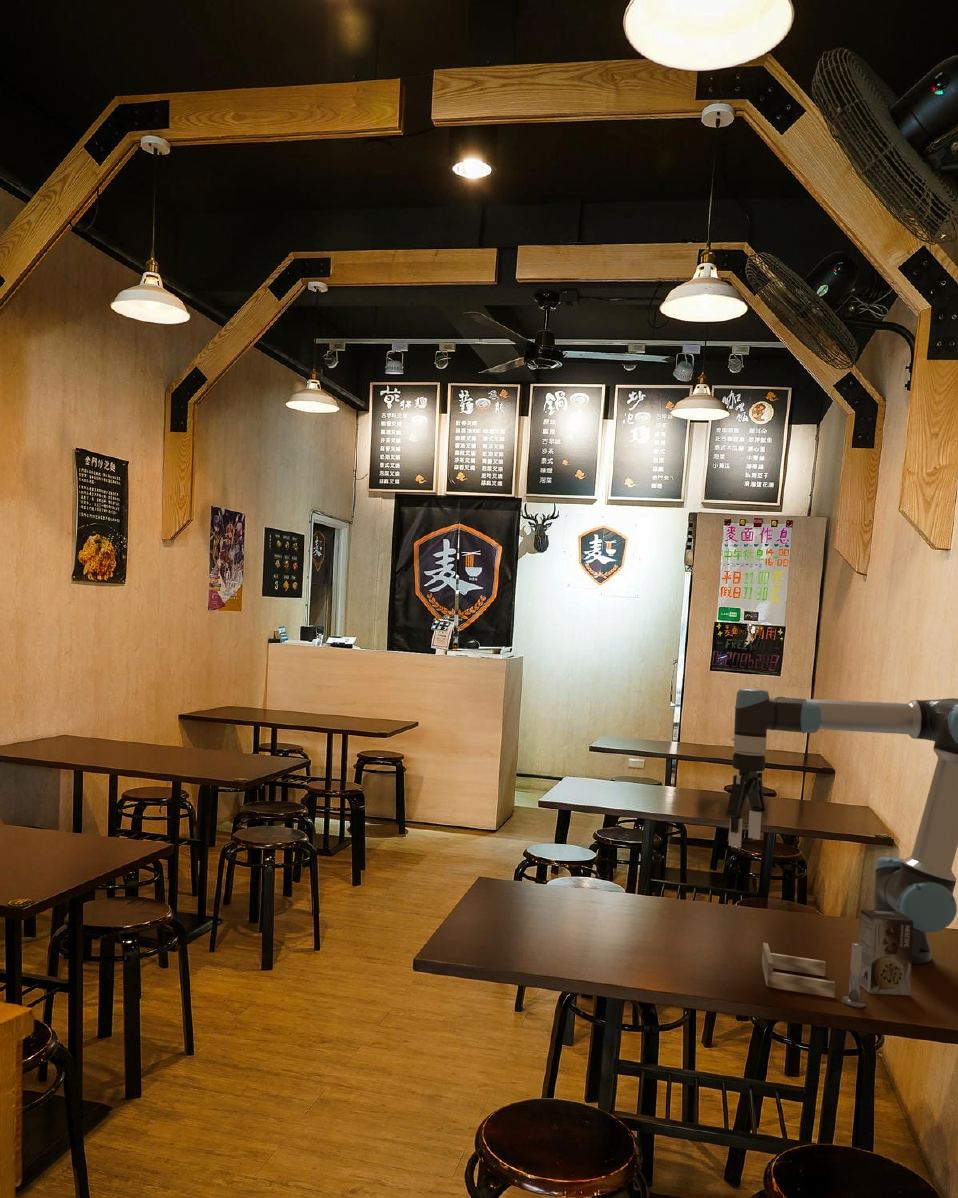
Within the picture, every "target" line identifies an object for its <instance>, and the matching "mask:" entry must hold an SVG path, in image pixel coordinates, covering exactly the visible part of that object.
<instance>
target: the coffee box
mask: <svg viewBox="0 0 958 1198" xmlns="http://www.w3.org/2000/svg"><path fill="white" fill-rule="evenodd" d="M859 918H860V923H859V937H858V938H859V939H858V940H859V941H858V943H859V944H861V945H863V946H862V962H861V978H860V987H862V988H863V989H864V990H865V991H866V992H867V993H869V994H876V995H894V996H895V995H897V996H911V988H912V987H911V985H912V982H911V981H912V965H913V964H912V942H913V920H911V919H909V918H908V917H907V916H906V915H904V914H902V913H900V912H892V911H877V910H873V909H870V910H869V909H860V917H859Z"/></svg>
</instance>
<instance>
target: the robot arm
mask: <svg viewBox="0 0 958 1198" xmlns="http://www.w3.org/2000/svg"><path fill="white" fill-rule="evenodd" d="M735 700H736V701H735V705H734V728H733V729H734V730H733V731H734V732H733V734H734V735H733V737H732V738H731V741H732V742H733V750H734V751H735V752H734V753H733V754H732V768H733V769H735V770H738V774H734V775H733V777H732V778H733V779H732V786H731V791H730V795H729V800H728V805H727V809H726V813H725V817H726V818H729V832H728V846H730V847H733V848H734V847H736V848H742V835H743V818H742V815H743V812H744V808H745V806H746V804H747V803H746V802H747V799H748V802H749V805H750V809H751V810H749V812H748V813H749V814H748V834H747V835H748V836H747V838H748V839H753V840H761V831H762V830H761V828H762V827H761V826H762V813H765V812H766V804H765V803H766V802H765V796H764V795H765V794H764V785H763V772H764V771H765V770H766V756H765V755H764V754H766V753H767V735H768V734H767V733H768V731H780V732H781V731H782V732H791V733H802V734H806V733H807V734H810V733H811V734H816V733H817V732H818V731H819V730H824V731H825V730H826V731H828V730H829V731H845V732H846V731H848V732H859V733H860V732H861V733H879V734H880V733H881V734H899V735H908V736H909V737H911V739H916V740H926V741H932V742H934V744H933V747H932V750H933V752H934V753H935V755H936V756H937V760H936V765H935V769H934V772H933V776H932V779H931V783H930V786H929V790H928V795H927V798H926V801H925V805H924V808H923V809H924V810H923V812H922V816H921V818H920V824H919V827H918V830H917V834H916V837H915V842H914V844H913V845H914V846H913V850H912V852H911V855H910V856H908V857H906V858H897V857H889V856H881V857H879V858H877V860H876V865H875V868H874V872H875V875H874V877H875V878H874V897H873V909H872V910H877V911H892V912H900V913H902V914H904V915H906V916H907V917H908V918H909V919H911V920H913V942H912V964H911V965H913V964H915V965H918V964H919V965H920V964H921V965H922V964H927V963H930V962H931V960H932V948H931V945H930V941H929V937H928V934H927V933H937V932H940V931H942V930H944V929H946V928H948V927H949V926H950V925H951V924H952V923H953V922H954V920H955V918H956V915H957V911H958V910H957V909H958V908H957V901H956V899H955V896H954V895H953V894H954V892H955V891H954V890H955V888H956V883H957V878H956V875H955V874H954V872H953V870H952V868H953V866H954V862H955V861H954V860H955V858H956V854H957V850H958V698H954V697H953V698H952V697H951V698H940V699H939V698H938V699H924V700H923V699H922V700H921V699H920V700H919V699H911V700H910V701H909V702H907V703H901V702H881V701H880V702H879V701H859V700H858V701H857V700H839V699H835V700H834V699H817V698H816V699H815V698H795V697H792V698H791V697H785V696H776V697H773V698H771V697H770V695H769V691H768V690H766V689H765V690H764V689H758V688H757V689H756V688H755V689H754V688H740V689H738V690H737V692H736V699H735Z"/></svg>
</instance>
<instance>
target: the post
mask: <svg viewBox="0 0 958 1198" xmlns="http://www.w3.org/2000/svg"><path fill="white" fill-rule="evenodd" d="M862 946H863V945H861V944H859V942H852V943H851V955H850V971H849V987H848V988H849V989H848V995H844V996H842V998H841V999H842V1000H841V1001H842V1003H843V1004H844V1005H845V1006H849V1007H852V1008H858V1009H862V1008H865V1007H866V1002H865V1000H863V999H861V998H860V990H861V986H860V978H861V962H862Z"/></svg>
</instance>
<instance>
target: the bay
mask: <svg viewBox="0 0 958 1198" xmlns="http://www.w3.org/2000/svg"><path fill="white" fill-rule="evenodd" d="M761 954H762V955H761V968H762V972H763V976H764V980H765V984H766V987H767V988H771V989H777V990H783V991H791V992H795V993H796V992H797V993H803V994H808V995H814V996H821V997H827V998H828V997H829V998H832V999H833V998H836V997H835V994H836V993H835V992H836V981H832V980H827V979H822V978H821V979H820V978H814V977H808V976H801V975H795V974H789V973H783V972H777V971H774V969H775V970H782V971H789V972H795V973H796V972H797V973H802V974H808V975H814V976H822V977H826V968H827V967H826V966H827V965H826V964H827V963H826V961H825V960H821V959H820V960H819V959H814V958H812V959H811V958H807V957H799V956H793V955H787V954H782V953H781V954H780V953H775V952H773V953H772V952H771V950H770V947H769V943H768V942H762V953H761Z"/></svg>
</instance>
